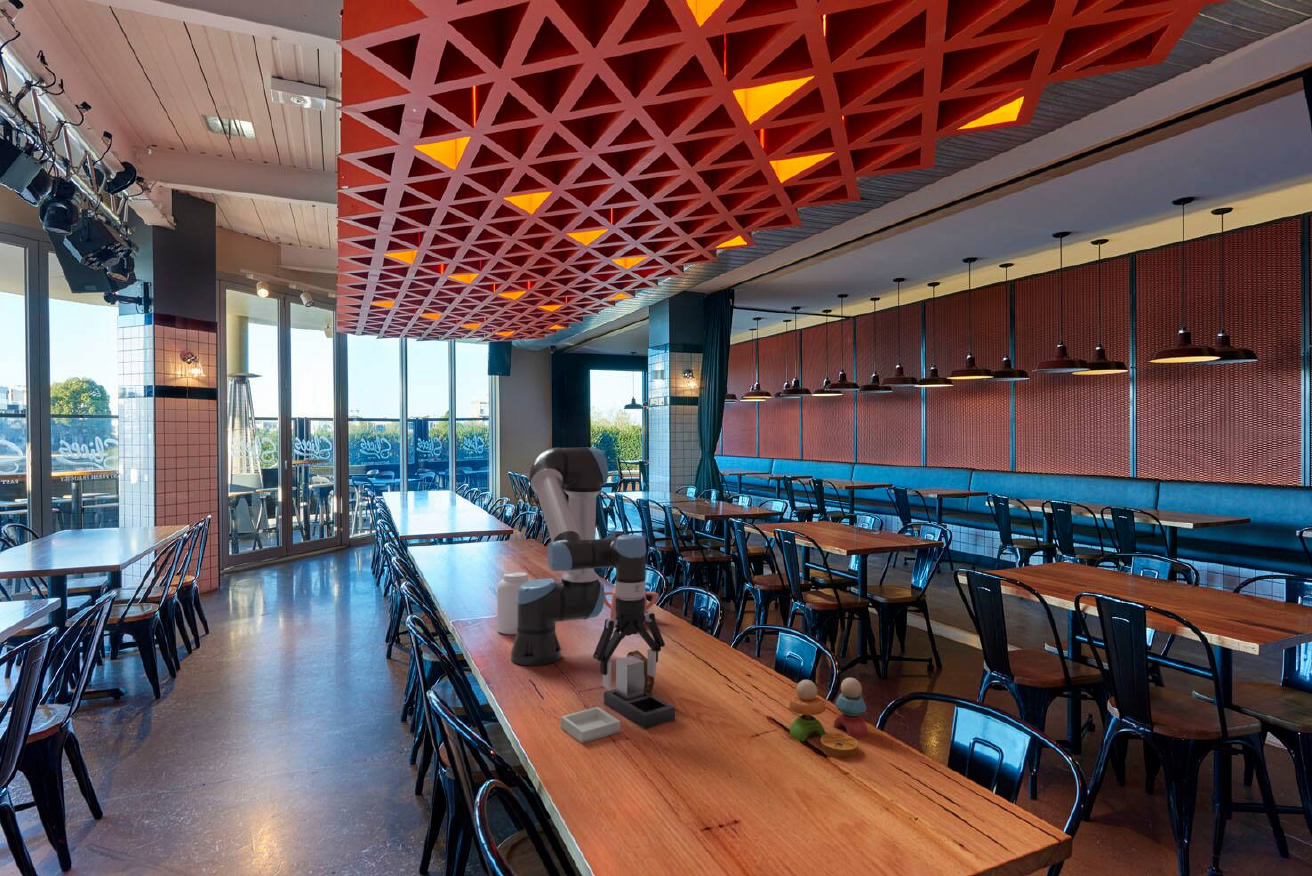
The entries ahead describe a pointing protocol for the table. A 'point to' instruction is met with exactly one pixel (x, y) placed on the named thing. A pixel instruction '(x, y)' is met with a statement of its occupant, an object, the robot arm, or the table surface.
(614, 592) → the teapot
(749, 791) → the table surface
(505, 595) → the white bottle
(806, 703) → the wooden stacking toy
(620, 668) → the grey rectangular block
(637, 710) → the dark rectangular frame
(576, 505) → the robot arm
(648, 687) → the tin
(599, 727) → the tray
